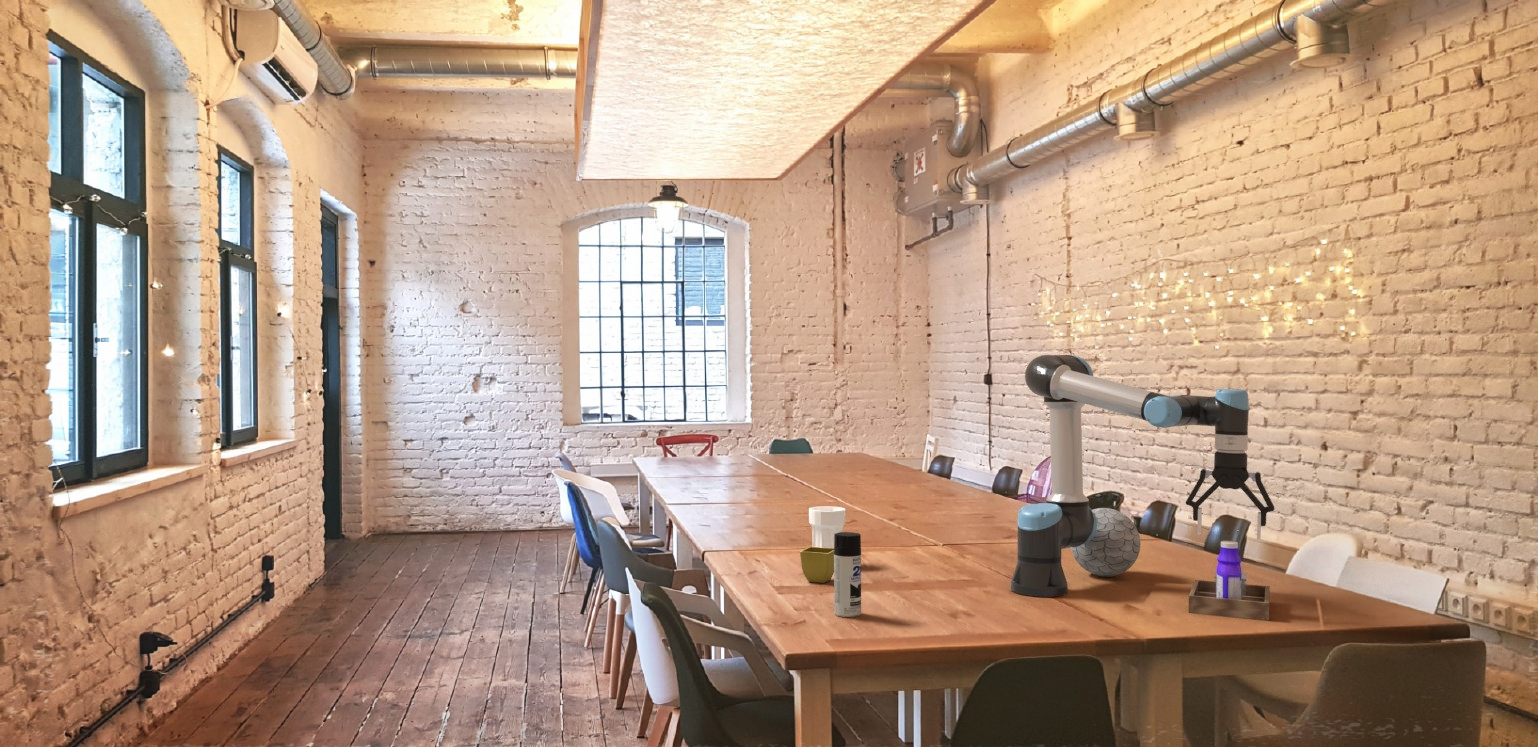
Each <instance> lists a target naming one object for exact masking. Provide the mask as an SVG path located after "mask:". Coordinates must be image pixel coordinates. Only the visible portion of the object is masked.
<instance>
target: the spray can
mask: <svg viewBox="0 0 1538 747" xmlns="http://www.w3.org/2000/svg"><path fill="white" fill-rule="evenodd" d="M861 536H862V535H861V534H860V533H859V532H850V531H842V532H839V533H836V534H834V573H833V590H834V591H833V594H834V595H833V598H834V600H833V602H834V603H833V604H834V605H833V607H834V608H833V612H834V615H835V616H836V617H837V616H838V617H841V618H856V617H859V616H861V614H862V544H861V543H862V541H861V540H862V539H861Z"/></svg>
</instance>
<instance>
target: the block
mask: <svg viewBox="0 0 1538 747" xmlns="http://www.w3.org/2000/svg"><path fill="white" fill-rule="evenodd" d="M1214 579H1215V593H1216V592H1217V572H1216V571H1215V574H1214ZM1247 580H1248V572H1242V576H1241V596H1246V584H1247Z"/></svg>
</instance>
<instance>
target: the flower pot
mask: <svg viewBox="0 0 1538 747" xmlns="http://www.w3.org/2000/svg"><path fill="white" fill-rule="evenodd" d="M799 556H800V565H801V569H802V570H801V571H802V573H803V575H804V577H805V578H806V580H807V581H808V583H809V582H810V583H822V584H824V583H827V582H829V581H830V580H831V578H832V577H833V576H834V548H821V547H813V546H808V547H807V548H806V547H805V548H804V549H802V550H800V551H799Z"/></svg>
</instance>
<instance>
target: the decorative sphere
mask: <svg viewBox="0 0 1538 747" xmlns="http://www.w3.org/2000/svg"><path fill="white" fill-rule="evenodd" d="M1092 512H1093V513H1095V515H1096V519H1097V529H1096V533H1095V535H1094V536H1093V538H1092V539H1091V540H1090V541H1089V542H1087V543H1085V544H1083V545H1081V546H1078V547H1074V548H1073V547H1070V551H1071V554H1072V556H1073V558H1074V560H1075V562H1077V564H1078V565H1079V566H1080V567H1081V568H1082V569H1084V571H1086V572H1088V573H1090V574H1092V575H1095V576H1098V577H1103V578H1104V577H1105V578H1106V577H1107V578H1108V577H1115V576H1119V575H1121V574H1123V573H1125V572H1127V571H1128V570H1129V569H1130V568H1131V567H1133V565H1134V564H1135V562H1136V561H1137V559H1138V558H1139V554H1140V551H1141V536H1140V533H1139V531H1138V528H1137V526H1136V525H1135V523H1134V522H1133V520H1132V519H1130V517H1128V516H1127V515H1126V514H1124V512H1121V511H1119V510H1117V509H1113V508H1110V507H1098V508H1094V509H1092Z"/></svg>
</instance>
